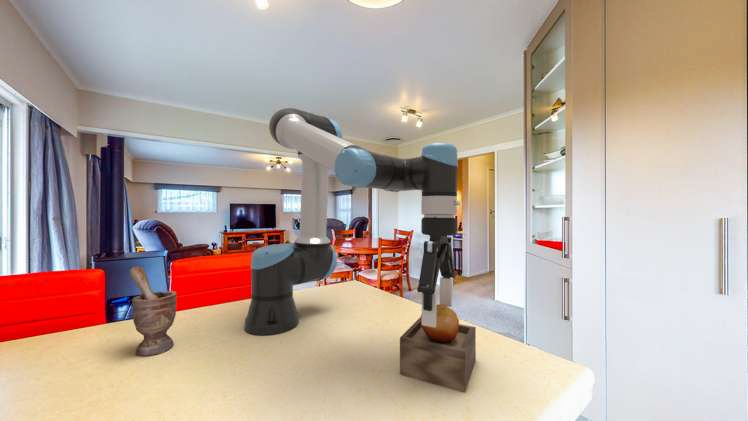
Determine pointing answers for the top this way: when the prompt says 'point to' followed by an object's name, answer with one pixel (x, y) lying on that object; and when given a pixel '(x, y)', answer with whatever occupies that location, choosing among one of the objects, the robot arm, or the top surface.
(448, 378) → the open wooden box
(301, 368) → the top surface
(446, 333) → the fruit
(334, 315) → the top surface
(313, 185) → the robot arm
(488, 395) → the top surface
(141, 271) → the mortar and pestle
